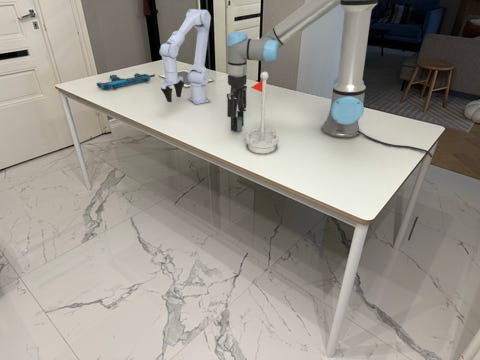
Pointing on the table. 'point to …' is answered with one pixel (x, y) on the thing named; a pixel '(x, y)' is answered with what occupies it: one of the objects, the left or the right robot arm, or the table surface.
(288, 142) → the table surface
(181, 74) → the tablet
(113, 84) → the submachine gun
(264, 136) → the flag stand
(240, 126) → the block
